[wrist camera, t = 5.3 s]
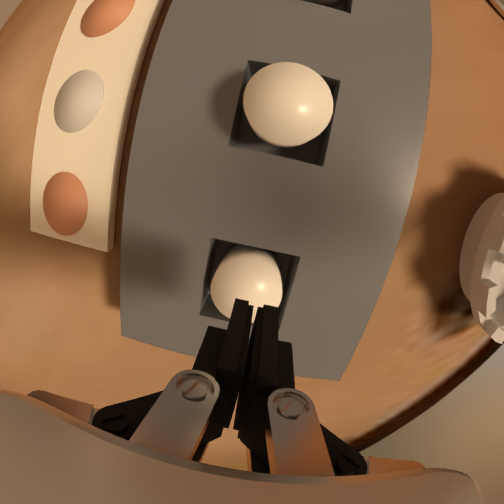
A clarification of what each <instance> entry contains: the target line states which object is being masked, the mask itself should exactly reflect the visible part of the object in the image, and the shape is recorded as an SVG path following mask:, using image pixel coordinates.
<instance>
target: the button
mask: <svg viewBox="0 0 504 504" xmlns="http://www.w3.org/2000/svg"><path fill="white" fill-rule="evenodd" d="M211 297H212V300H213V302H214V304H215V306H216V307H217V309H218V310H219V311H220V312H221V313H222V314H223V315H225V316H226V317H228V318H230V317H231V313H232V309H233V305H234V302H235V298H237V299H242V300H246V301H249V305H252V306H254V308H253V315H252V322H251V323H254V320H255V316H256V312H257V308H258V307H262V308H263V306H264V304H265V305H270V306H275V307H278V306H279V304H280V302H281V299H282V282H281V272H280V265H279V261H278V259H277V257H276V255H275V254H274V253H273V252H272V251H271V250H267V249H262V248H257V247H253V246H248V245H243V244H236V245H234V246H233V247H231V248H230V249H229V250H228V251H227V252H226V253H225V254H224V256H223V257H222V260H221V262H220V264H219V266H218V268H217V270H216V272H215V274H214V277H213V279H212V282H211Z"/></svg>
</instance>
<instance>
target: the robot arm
mask: <svg viewBox="0 0 504 504" xmlns="http://www.w3.org/2000/svg"><path fill="white" fill-rule="evenodd" d="M489 1H490V2H491V4H492V5H493V6H494V7H495V8H496V10H497V11H498V12H499V13H500V14H501V15H502V16H503V17H504V0H489ZM253 308H254V306H252V305H249V301H246V300H242V299H237V298H235V302H234V305H233V309H232V313H231V317H230V320H229V324H228V328H227V330H226V329H222V328H217V327H213V326H208V328H207V331H206V333H205V336H204V339H203V341H202V344H201V347H200V349H199V352H198V355H197V357H196V360H195V363H194V366H193V368H192V370H185V371H181V372H179V373H177V374H176V375H175V376H174V377H173V378H172V379H171V381H170V382H169V383H168V385H167V386H166V388H165V389H164V390H163V391H160V392H157V393H154V394H150V395H147V396H143V397H140V398H136V399H133V400H129V401H125V402H122V403H118V404H114V405H110V406H106V407H104V408H101V409H97V408H94V406H93V405H92V404H88V403H84V402H80V401H76V400H73V399H69V398H66V397H62V396H59V395H56V394H52V393H49V392H46V391H41V390H37V391H32V392H31V393H29V394H28V395H24V394H20V393H17V392H13V391H8V390H2V389H0V504H485V502H484V499H483V497H482V495H481V492H480V490H479V488H478V486H477V484H476V483H475V482H474V480H473V479H472V478H471V477H470V476H469V475H467V474H465V473H463V472H460V471H456V470H450V469H444V468H425V467H424V466H423V465H422V464H421V463H419V462H415V461H406V460H395V459H386V458H379V457H371V456H370V457H369V458H368V459H366V458H364V457H363V456H362V455H361V454H360V453H359V452H357V451H356V450H354V449H353V448H352V447H350V446H349V445H347V444H346V443H345V442H343V441H342V440H341V439H339V438H338V437H337V436H335V435H334V434H333V433H332V432H330V431H329V430H328V429H326V428H325V427H324V426H323V425H321V424H320V423H319V420H318V416H317V413H316V410H315V407H314V404H313V402H312V400H311V399H310V398H309V397H308V396H307V395H306V394H304V393H303V392H301V391H299V390H296V389H295V382H294V366H293V351H292V343H291V342H285V341H280V340H278V307H275V306H270V305H265V304H264V306H263V308H262V307H258V308H257V312H256V316H255V320H254V324H253V328H252V332H251V335H250V329H251V322H252V315H253ZM249 336H250V339H249ZM238 394H239V395H238ZM237 397H238V401H237ZM236 401H237V408H236V414H235V420H234V427H233V429H234V430H239V432H238V438H239V439H240V440H241V442H242V443H243V444H244V445H245V446H246V447H247V452H246V454H247V467H248V471H242V470H236V469H230V468H224V467H219V466H214V465H209V464H204V463H201V461H202V459H203V456H204V454H205V452H206V450H207V447H208V444H209V442H210V441H212V440H214V439H217V438H219V437H221V434H222V431H223V427H224V428H229V425H230V421H231V418H232V415H233V411H234V408H235V404H236Z"/></svg>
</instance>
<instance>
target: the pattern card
mask: <svg viewBox="0 0 504 504" xmlns="http://www.w3.org/2000/svg"><path fill="white" fill-rule="evenodd" d="M164 2H165V0H77V2H76V4H75V6H74V8H73V10H72V12H71V15H70V17H69V19H68V21H67V24H66V26H65V29H64V31H63V34H62V36H61V39H60V42H59V44H58V47H57V50H56V53H55V56H54V59H53V62H52V65H51V69H50V72H49V75H48V79H47V83H46V87H45V91H44V95H43V99H42V103H41V108H40V113H39V118H38V124H37V130H36V137H35V144H34V152H33V161H32V173H31V191H30V230H31V231H32V232H36V233H39V234H43V235H46V236H49V237H53V238H56V239H60V240H63V241H67V242H71V243H74V244H78V245H81V246H85V247H89V248H93V249H96V250H100V251H104V252H109V251H110V250H112V249H113V248H114V230H115V215H116V203H117V192H118V183H119V175H120V168H121V161H122V154H123V148H124V142H125V136H126V131H127V126H128V121H129V116H130V111H131V106H132V102H133V98H134V94H135V90H136V86H137V82H138V78H139V74H140V71H141V67H142V64H143V61H144V57H145V54H146V51H147V48H148V45H149V42H150V39H151V36H152V33H153V30H154V27H155V25H156V22H157V19H158V17H159V14H160V12H161V9H162V7H163V4H164Z"/></svg>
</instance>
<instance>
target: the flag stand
mask: <svg viewBox="0 0 504 504" xmlns="http://www.w3.org/2000/svg"><path fill="white" fill-rule="evenodd" d="M459 275H460V283H461V287H462V290H463V293H464V294H465V296H466V298H467V299H468V300H469V301H470V304H471V309H472V314H473V316H474V318H475V320H476V322H477V323H478V324H479V325H480V326H481V327H482V328H483V329H484V330H485V331H486V332H487V333H488V334H489V335H490V336H491V337H492V338H493V339H494V340H495V341H496V342H498V343H501V344H502V342H503V340H504V193H497V194H494V195H493V196H491V197H489V198H488V199H487V200H486V201H485V202H484V203H482V205H481V206H480V207H479V209H478V210H477V211H476V213H475V215H474V216H473V218H472V220H471V222H470V224H469V227H468V229H467V232H466V234H465V238H464V241H463V245H462V249H461V255H460V266H459Z"/></svg>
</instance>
